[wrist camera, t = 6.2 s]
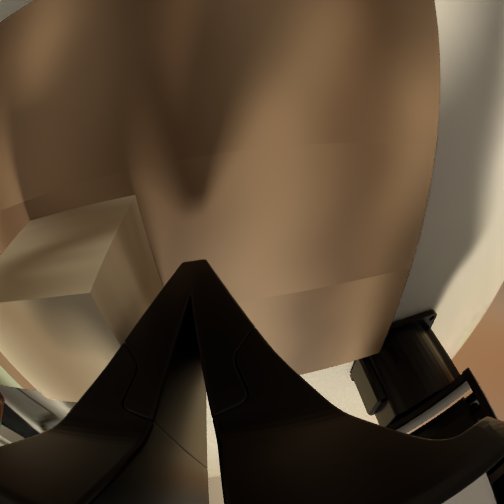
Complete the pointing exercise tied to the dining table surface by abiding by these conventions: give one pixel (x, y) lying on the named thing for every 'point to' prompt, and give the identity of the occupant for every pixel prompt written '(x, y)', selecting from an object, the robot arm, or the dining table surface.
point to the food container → (1, 406)
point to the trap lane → (236, 147)
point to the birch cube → (74, 294)
